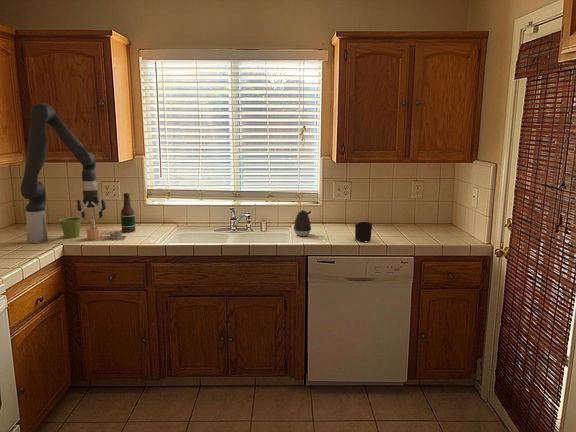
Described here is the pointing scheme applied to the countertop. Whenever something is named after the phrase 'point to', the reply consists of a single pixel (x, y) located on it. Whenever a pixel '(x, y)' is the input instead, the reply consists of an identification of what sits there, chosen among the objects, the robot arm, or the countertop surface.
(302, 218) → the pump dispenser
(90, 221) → the birch dowel
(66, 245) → the countertop surface
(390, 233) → the countertop surface
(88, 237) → the terracotta cup
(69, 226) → the plant pot
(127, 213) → the beer bottle
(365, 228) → the pen holder
